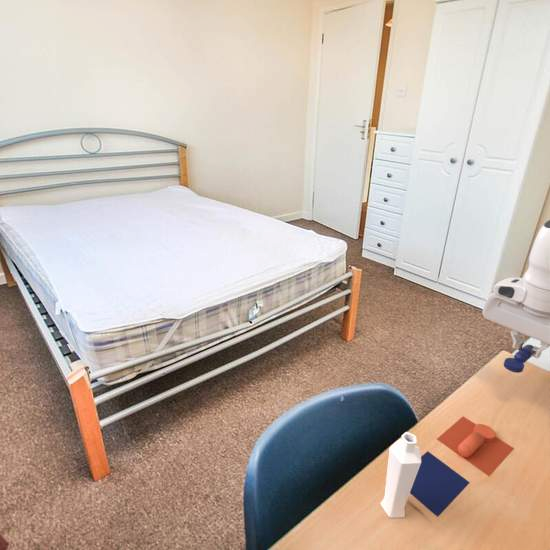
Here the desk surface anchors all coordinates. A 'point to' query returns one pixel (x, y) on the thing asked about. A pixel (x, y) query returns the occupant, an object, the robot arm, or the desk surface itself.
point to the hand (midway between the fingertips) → (525, 352)
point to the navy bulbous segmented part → (518, 359)
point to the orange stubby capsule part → (476, 440)
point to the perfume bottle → (401, 474)
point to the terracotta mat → (485, 455)
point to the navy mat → (436, 484)
